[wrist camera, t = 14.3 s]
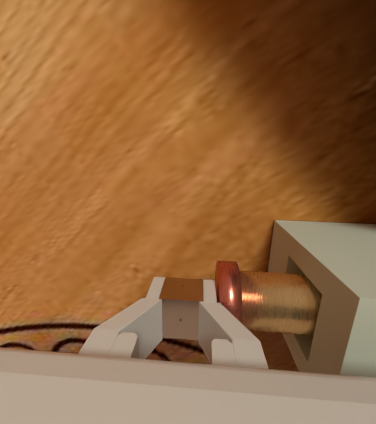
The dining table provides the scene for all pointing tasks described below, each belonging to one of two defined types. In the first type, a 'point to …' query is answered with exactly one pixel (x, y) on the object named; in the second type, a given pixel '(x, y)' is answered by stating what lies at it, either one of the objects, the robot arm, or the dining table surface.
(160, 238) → the dining table surface
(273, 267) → the guide rail
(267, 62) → the dining table surface
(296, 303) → the cylinder
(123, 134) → the dining table surface
